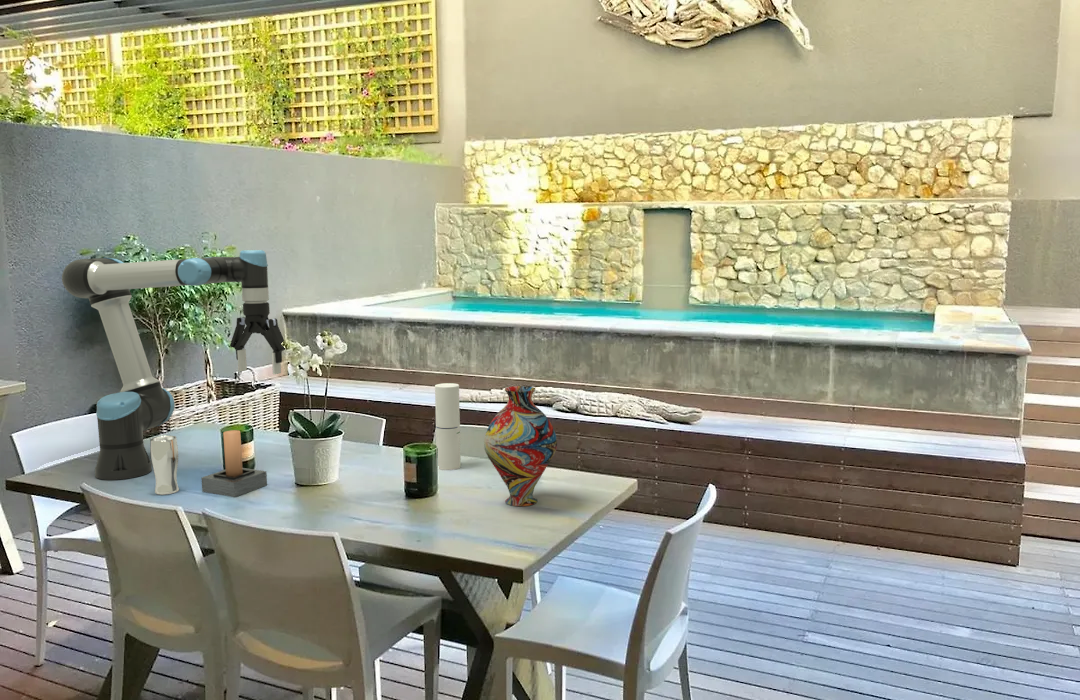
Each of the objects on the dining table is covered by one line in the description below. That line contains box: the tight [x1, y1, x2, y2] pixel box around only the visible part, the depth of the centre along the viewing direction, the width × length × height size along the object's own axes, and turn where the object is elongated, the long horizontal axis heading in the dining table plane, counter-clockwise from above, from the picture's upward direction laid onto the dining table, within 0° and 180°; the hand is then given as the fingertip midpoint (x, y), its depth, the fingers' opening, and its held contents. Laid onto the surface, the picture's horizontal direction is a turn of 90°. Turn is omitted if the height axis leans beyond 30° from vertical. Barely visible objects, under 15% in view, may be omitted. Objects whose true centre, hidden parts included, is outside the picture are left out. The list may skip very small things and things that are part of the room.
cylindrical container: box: [434, 382, 462, 471], centre depth 254 cm, size 7×7×25 cm
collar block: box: [201, 467, 268, 498], centre depth 235 cm, size 12×12×4 cm
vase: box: [483, 385, 558, 507], centre depth 220 cm, size 19×19×30 cm
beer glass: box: [149, 435, 180, 496], centre depth 232 cm, size 7×7×15 cm
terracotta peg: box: [223, 429, 243, 477], centre depth 234 cm, size 4×4×16 cm
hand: (259, 372), depth 255 cm, fingers open, 13 cm apart
